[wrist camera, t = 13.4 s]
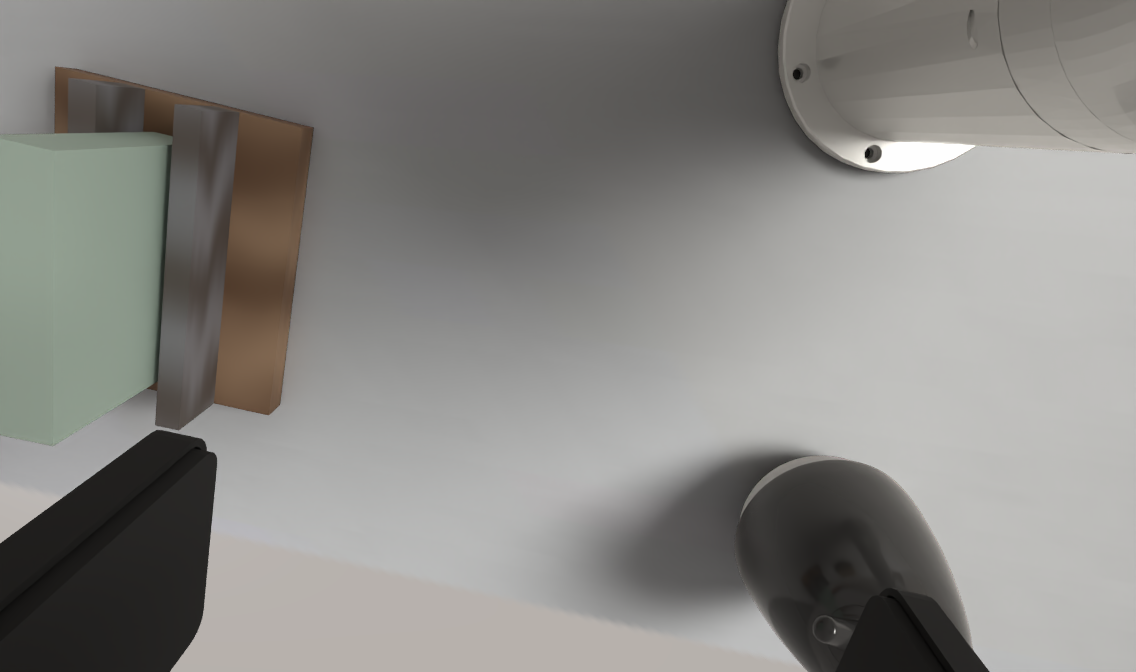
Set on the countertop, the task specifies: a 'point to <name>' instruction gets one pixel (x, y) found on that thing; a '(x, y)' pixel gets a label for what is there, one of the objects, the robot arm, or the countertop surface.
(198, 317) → the track board
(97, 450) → the countertop surface
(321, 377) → the countertop surface
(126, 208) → the door panel
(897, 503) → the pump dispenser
